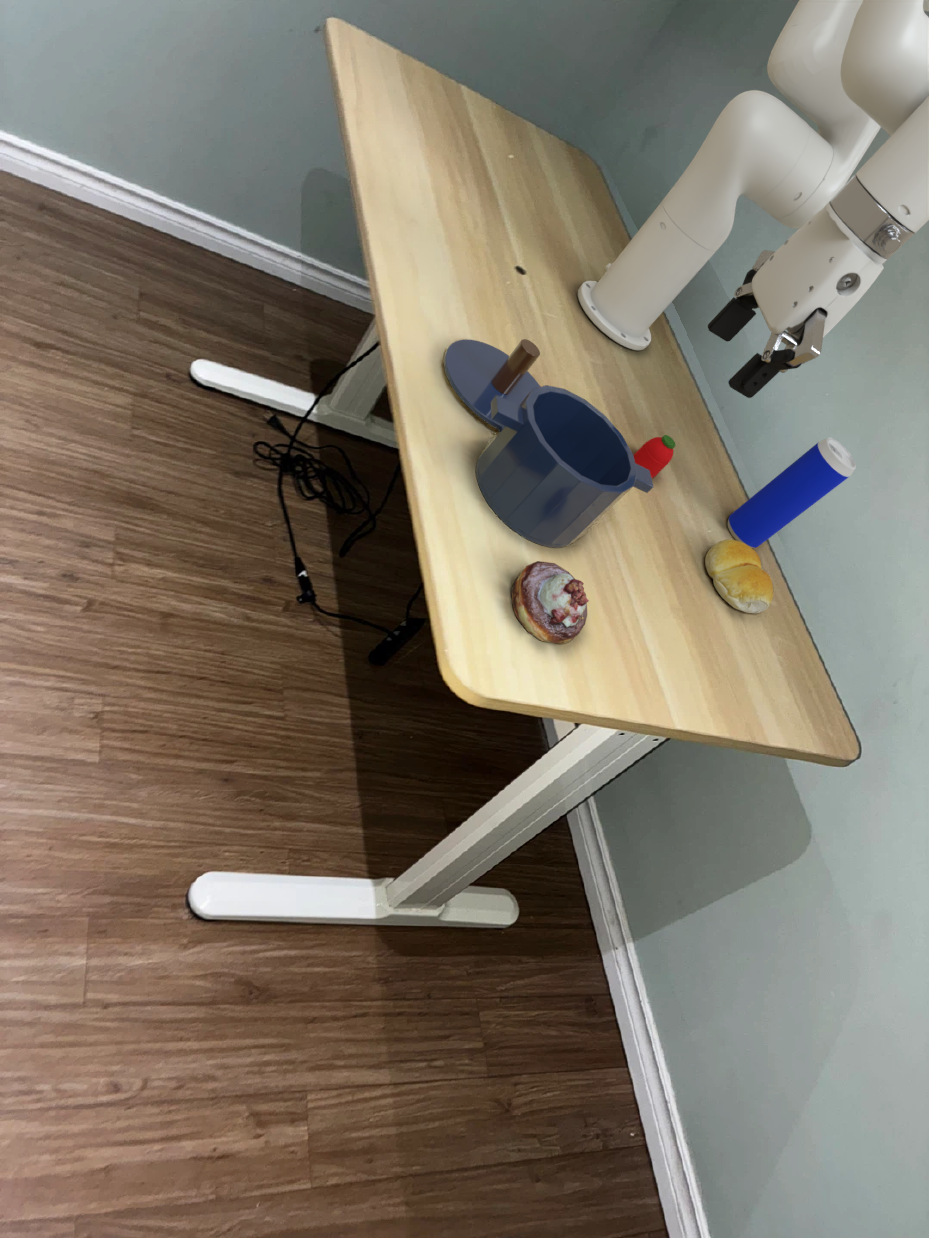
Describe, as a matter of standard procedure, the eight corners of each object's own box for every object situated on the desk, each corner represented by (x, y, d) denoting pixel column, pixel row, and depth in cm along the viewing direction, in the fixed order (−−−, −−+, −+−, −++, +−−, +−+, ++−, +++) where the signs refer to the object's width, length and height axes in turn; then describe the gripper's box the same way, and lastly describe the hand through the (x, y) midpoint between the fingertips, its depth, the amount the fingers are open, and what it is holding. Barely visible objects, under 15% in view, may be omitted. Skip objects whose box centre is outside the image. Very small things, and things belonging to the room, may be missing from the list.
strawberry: (629, 450, 97) (655, 424, 94) (652, 461, 98) (678, 436, 95) (634, 471, 95) (660, 445, 92) (657, 482, 96) (684, 457, 93)
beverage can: (755, 532, 103) (855, 453, 93) (756, 557, 99) (860, 478, 89) (724, 510, 102) (823, 428, 92) (724, 534, 98) (827, 452, 88)
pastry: (540, 656, 68) (577, 624, 65) (491, 583, 70) (524, 549, 66) (592, 631, 74) (629, 601, 70) (546, 565, 75) (579, 533, 72)
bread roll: (737, 556, 97) (763, 536, 94) (766, 619, 92) (794, 600, 90) (690, 543, 92) (716, 522, 90) (718, 609, 88) (747, 588, 85)
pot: (449, 418, 80) (497, 353, 74) (592, 484, 88) (645, 430, 82) (453, 510, 72) (506, 446, 67) (609, 573, 80) (669, 521, 75)
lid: (439, 328, 88) (471, 279, 84) (540, 380, 94) (575, 337, 90) (441, 409, 80) (477, 359, 76) (552, 460, 86) (591, 417, 82)
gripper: (928, 293, 70) (773, 430, 81) (862, 197, 80) (733, 330, 92) (873, 250, 67) (720, 398, 78) (811, 156, 77) (684, 299, 89)
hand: (727, 361), depth 85 cm, fingers open, 9 cm apart
